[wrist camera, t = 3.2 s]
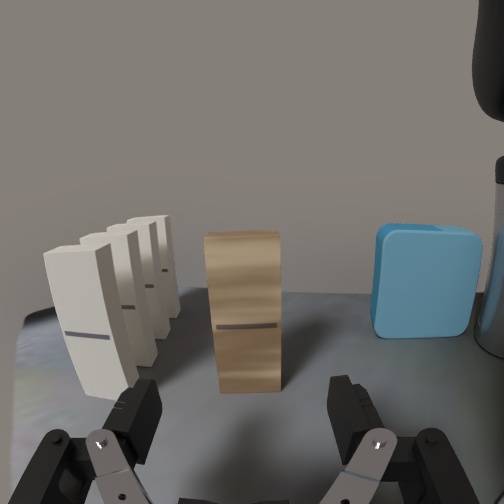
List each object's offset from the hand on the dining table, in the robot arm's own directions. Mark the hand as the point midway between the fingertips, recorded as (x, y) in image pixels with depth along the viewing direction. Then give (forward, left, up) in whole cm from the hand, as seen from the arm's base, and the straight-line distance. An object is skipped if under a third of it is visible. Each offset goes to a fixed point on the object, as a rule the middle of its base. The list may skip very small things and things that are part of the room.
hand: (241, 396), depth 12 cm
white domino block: (+19, -12, -7) cm, 24 cm away
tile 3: (+17, -7, -7) cm, 20 cm away
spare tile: (+4, -9, -7) cm, 12 cm away
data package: (-11, -23, -8) cm, 27 cm away
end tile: (+21, -17, -7) cm, 28 cm away
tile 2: (+14, -2, -7) cm, 16 cm away
